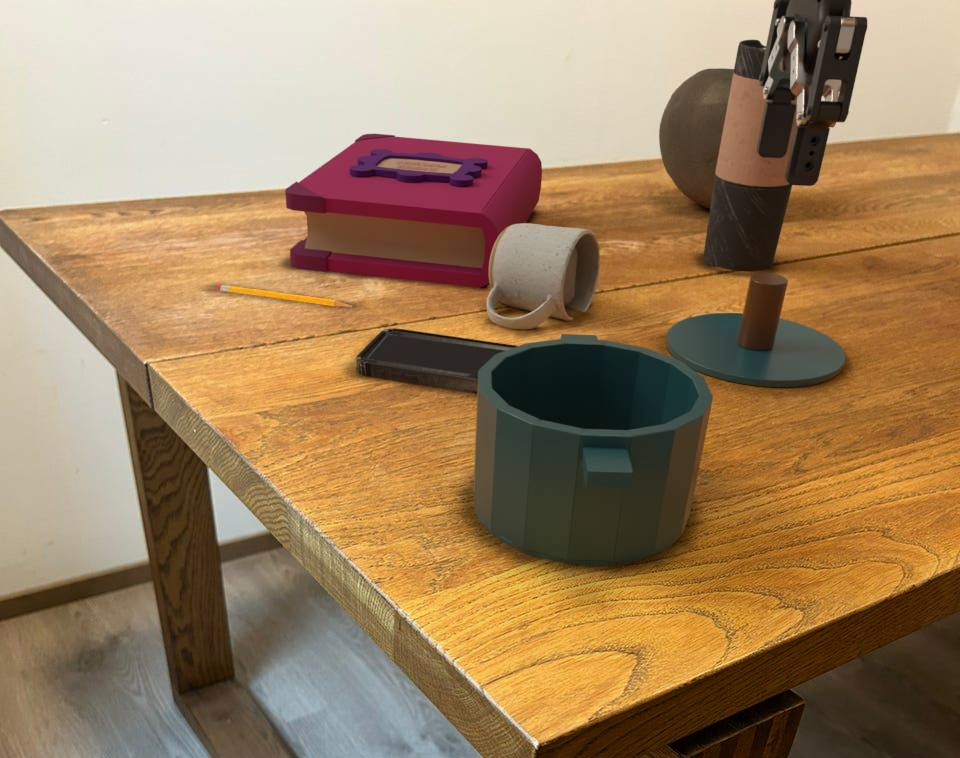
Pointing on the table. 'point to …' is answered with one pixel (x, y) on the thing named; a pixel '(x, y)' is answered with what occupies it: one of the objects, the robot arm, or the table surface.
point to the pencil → (281, 295)
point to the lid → (757, 342)
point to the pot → (588, 449)
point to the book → (413, 208)
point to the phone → (427, 358)
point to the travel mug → (746, 177)
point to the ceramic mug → (542, 273)
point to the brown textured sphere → (695, 132)
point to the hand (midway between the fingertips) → (784, 169)
